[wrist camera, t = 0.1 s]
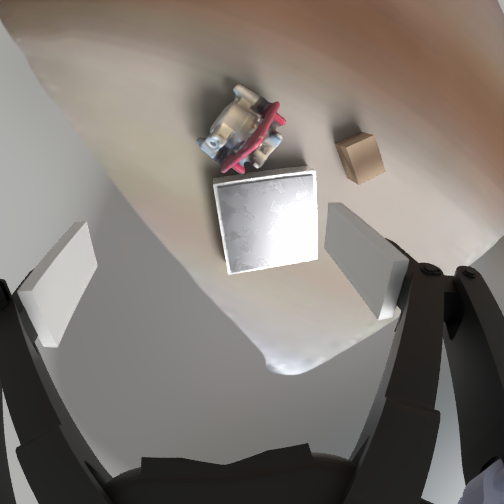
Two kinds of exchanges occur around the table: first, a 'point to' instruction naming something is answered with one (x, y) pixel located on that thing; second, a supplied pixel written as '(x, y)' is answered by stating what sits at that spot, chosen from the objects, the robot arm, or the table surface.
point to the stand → (267, 217)
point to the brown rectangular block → (360, 157)
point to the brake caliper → (244, 132)
